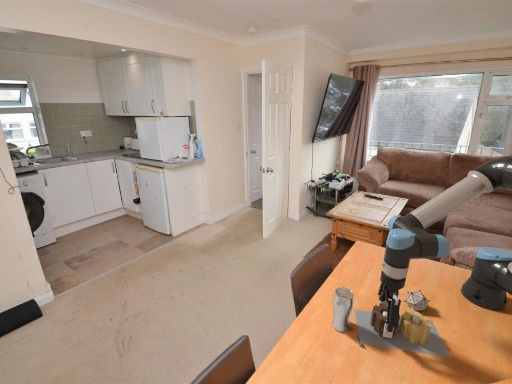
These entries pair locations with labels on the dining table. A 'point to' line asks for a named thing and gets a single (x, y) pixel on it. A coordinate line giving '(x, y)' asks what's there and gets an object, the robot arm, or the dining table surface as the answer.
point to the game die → (417, 301)
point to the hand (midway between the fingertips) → (383, 325)
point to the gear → (414, 327)
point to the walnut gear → (380, 319)
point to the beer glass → (342, 308)
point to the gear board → (398, 337)
